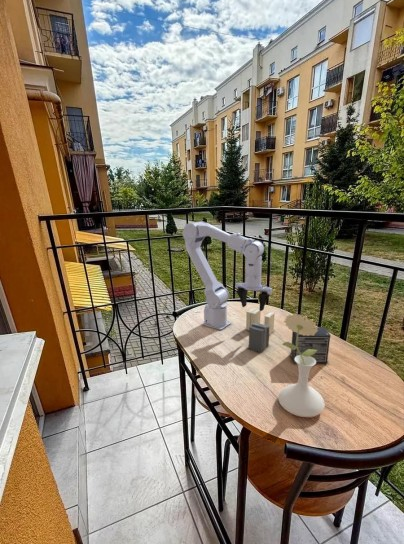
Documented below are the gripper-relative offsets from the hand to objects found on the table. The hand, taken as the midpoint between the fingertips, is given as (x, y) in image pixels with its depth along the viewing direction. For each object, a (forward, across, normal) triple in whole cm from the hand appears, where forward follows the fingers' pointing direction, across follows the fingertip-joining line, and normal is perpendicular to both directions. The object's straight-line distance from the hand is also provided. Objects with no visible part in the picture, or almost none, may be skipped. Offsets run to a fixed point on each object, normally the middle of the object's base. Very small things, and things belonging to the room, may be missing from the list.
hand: (252, 308), depth 109 cm
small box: (+11, +25, -7) cm, 28 cm away
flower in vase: (+11, +30, -30) cm, 44 cm away
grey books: (+10, +8, -10) cm, 16 cm away
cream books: (+10, -1, +3) cm, 11 cm away
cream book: (+10, +6, +3) cm, 12 cm away
